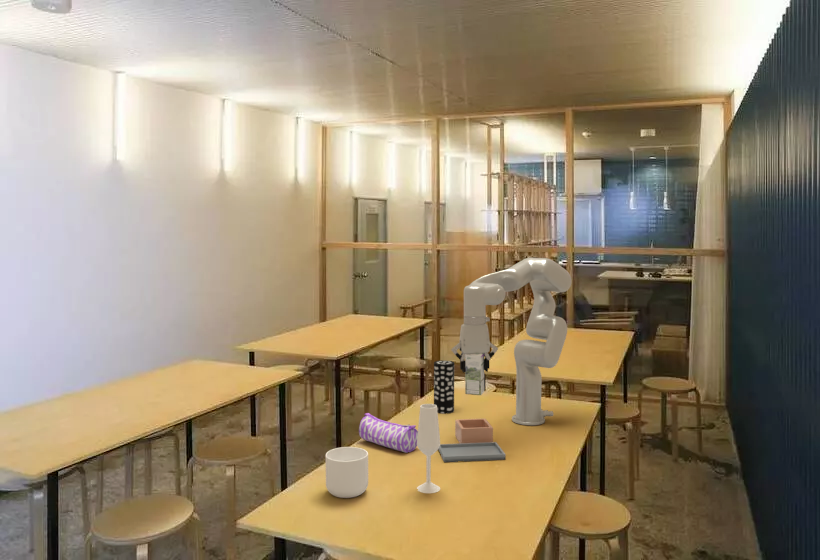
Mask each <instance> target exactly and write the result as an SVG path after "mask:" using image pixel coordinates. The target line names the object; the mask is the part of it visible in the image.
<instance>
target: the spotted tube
mask: <svg viewBox="0 0 820 560" xmlns="http://www.w3.org/2000/svg"><path fill="white" fill-rule="evenodd" d="M433 404H434V405H437V412H438V414H445V415H446V413H447V414H451V413H452V414H453V413H454V411H455V361H452V360H436V361H434V362H433Z"/></svg>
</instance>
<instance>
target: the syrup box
mask: <svg viewBox="0 0 820 560" xmlns="http://www.w3.org/2000/svg"><path fill="white" fill-rule="evenodd" d="M484 359H485V356H484V353H483V354H482V353H477V354H465V359H464V361H465V374H464V377H465V378H464V381H465V383H464V387H465V395H473V396H482V395H483V394H484V393H485V370H484Z"/></svg>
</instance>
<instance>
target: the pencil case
mask: <svg viewBox="0 0 820 560" xmlns="http://www.w3.org/2000/svg"><path fill="white" fill-rule="evenodd" d="M416 426H417V425H410V424H399V423H395V422H389V421H386V420H382V419H381V418H378V417H376V416H374V415H372V414H371V413H369V412H366V413H364V416H363V417H362V419H361V420H360V423H359V427H358V435H359V437H360V438H361V439H362V440H363V441H366V442H370V443H374V444H376V445H379V446H381V447H386V448H388V449H391V450H395V451H399V452H403V453H406V454H409V453H411V452H413V451H414V450H416V448H418V446H417V436H418V429H417V428H416ZM408 452H409V453H408Z"/></svg>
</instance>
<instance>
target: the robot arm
mask: <svg viewBox="0 0 820 560" xmlns="http://www.w3.org/2000/svg"><path fill="white" fill-rule="evenodd" d="M527 284H529V286H530V288H531V290H532V291H531V292H532V293H533V306H532V308H531V311H530V314H529V317H528V320H527V323H526V327H525V332H526V334H527V336H528V337H530V338H532V339H521V340H519V341H518V342H516V344H515V346H514V349H513V355H514V356H513V357H514V361H515V370H516V372H515V374H516V377H515V378H516V382H515V384H516V385H515V386H516V387H515V388H516V390H515V393H516V394H515V395H516V396H515V397H516V398H515V414H514V415H512V417H511V420H512V422H513V423H515V424H518V425H523V426H540V425H542V424H545V422H546V419H545V418H546V417H554V411H553V410H552V411H551V410H550V411H548V410H546V409H545V410H543V409H542V381H543V379H542V373H541V370H540V368H545V369H552V368H554V367H556V366H557V364H558V362H559V360H560V358H561V355H562V351H563V348H564V345H565V342H566V339H567V334H568V324H567V322H566V319H564V318H563V317H560V316H556V315H555V311H556V307H557V306H556V301H555V299H554V297H553V295H552V292H553V293H555V292H556V293H565V292H567V291H569V289H570V288H571V286H572V276H571V274H570V272H568V270H567V269H565V268H564V267H563V266H561V265H560V264H559V263H558V262H556V261H554V260H553V259H551V258H547V257H527V258H524V259H522V260H520V261H519V262H517V263H515V264H514V265H512V266H510V267H508V268H506V269H503V270H499V271H496V272H493V273H488V274H486V275H482V276H480V277H479V278H477V279H475V280H473V281H472V282H471V283H469V285H466V286H465V287H464V288H463V324H461V325H460V331H459V342H458V343H457V344H456V345H454V346H453V347H452V348H451V352H452V353H453V354H454V355H455V357H457V359H459V369H460V370H461V372H462V373H465V354H477V353H482V354H483V353H484V372H486V373H487V372H488V371H489V369H490V360H491V359H492V358H493V357H494V356H495V354H496V352H498V350H499V348H498V347H497V346H496V345H494V344H493V343H492V342H491V341H490V333H489V326H488V324H487V322H490V320H491V319H490V317H489V316H486V315H487V314H486V310H487V309H486V306H489V305H490V306H497V305H498V306H499V305H500V304H501V303H503V301H504V300H505V298H506V293H507V292H513V291H518V290H519V289H521V288H522V287H524V286H526V285H527ZM534 339H538V340H534ZM540 340H542V341H540ZM543 340H544V341H543ZM490 348H491V349H492V350H491V349H490ZM458 350H459V351H460V352H461V353H460V354H459V352H458ZM490 350H491V351H490Z"/></svg>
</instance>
